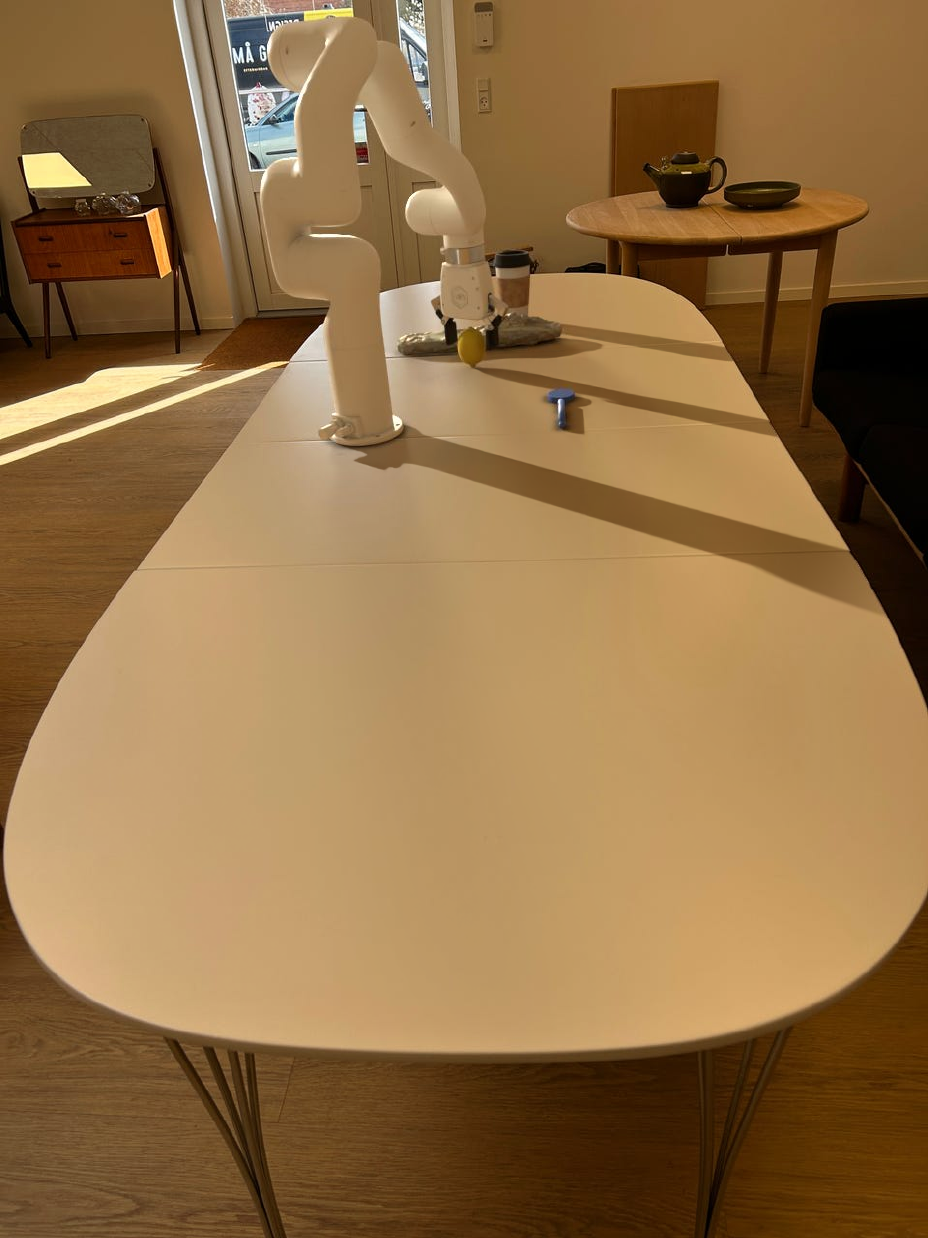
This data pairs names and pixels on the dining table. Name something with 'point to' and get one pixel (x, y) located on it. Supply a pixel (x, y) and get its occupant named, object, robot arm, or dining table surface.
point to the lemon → (471, 346)
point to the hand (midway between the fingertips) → (472, 345)
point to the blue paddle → (561, 402)
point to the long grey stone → (509, 332)
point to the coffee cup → (513, 279)
